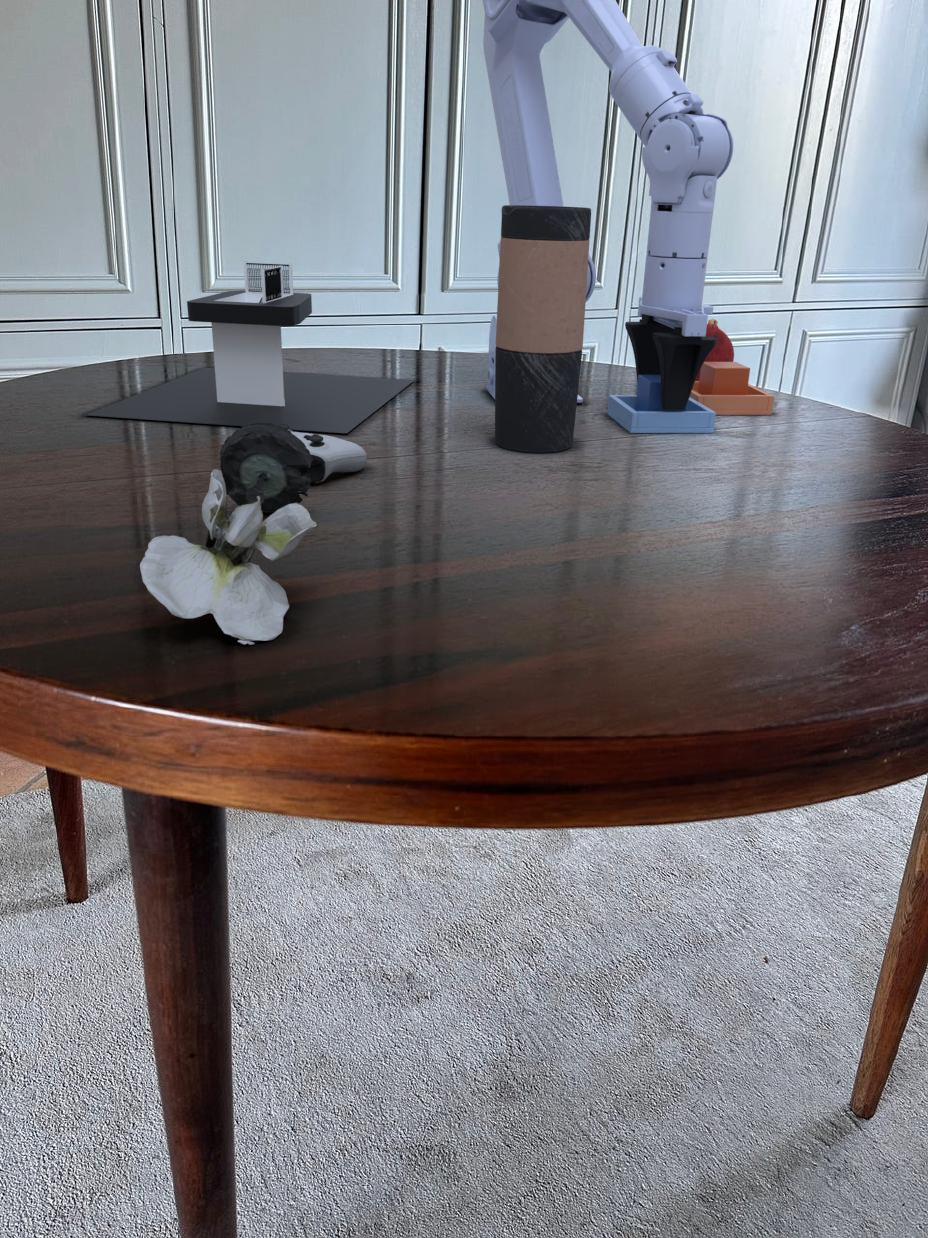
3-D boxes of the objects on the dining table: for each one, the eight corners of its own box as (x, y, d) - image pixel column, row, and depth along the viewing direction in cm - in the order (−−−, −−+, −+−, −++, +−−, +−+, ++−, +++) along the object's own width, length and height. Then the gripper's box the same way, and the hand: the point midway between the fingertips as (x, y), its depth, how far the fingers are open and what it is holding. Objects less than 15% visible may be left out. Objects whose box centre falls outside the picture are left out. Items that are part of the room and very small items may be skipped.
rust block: (709, 405, 106) (714, 367, 104) (696, 398, 110) (701, 361, 108) (745, 405, 107) (750, 368, 105) (731, 398, 110) (736, 361, 109)
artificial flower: (336, 528, 71) (370, 399, 66) (259, 714, 51) (300, 551, 46) (214, 491, 70) (239, 358, 65) (90, 666, 51) (112, 495, 46)
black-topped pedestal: (346, 434, 92) (343, 282, 86) (84, 416, 96) (65, 270, 90) (414, 381, 117) (415, 261, 111) (204, 368, 121) (195, 252, 115)
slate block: (646, 422, 97) (650, 381, 96) (634, 414, 101) (638, 374, 99) (685, 422, 98) (690, 381, 96) (672, 413, 102) (676, 374, 100)
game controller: (373, 455, 81) (350, 414, 76) (354, 513, 79) (329, 475, 74) (269, 443, 84) (239, 402, 78) (248, 498, 82) (217, 461, 77)
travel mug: (586, 439, 92) (604, 207, 84) (558, 458, 86) (575, 208, 78) (510, 429, 95) (521, 204, 87) (478, 446, 89) (486, 205, 81)
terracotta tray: (696, 414, 104) (698, 395, 103) (670, 398, 111) (672, 380, 111) (771, 414, 105) (774, 395, 104) (741, 398, 113) (743, 380, 112)
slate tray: (630, 433, 95) (632, 412, 95) (607, 414, 103) (608, 394, 102) (713, 432, 97) (716, 412, 96) (684, 414, 104) (686, 395, 103)
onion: (734, 394, 115) (744, 323, 112) (684, 392, 115) (693, 321, 112) (723, 385, 120) (732, 316, 117) (675, 383, 120) (683, 315, 117)
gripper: (747, 263, 87) (726, 416, 93) (690, 251, 100) (675, 386, 106) (670, 261, 86) (654, 416, 92) (623, 250, 99) (611, 386, 105)
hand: (660, 401), depth 99 cm, fingers open, 7 cm apart
